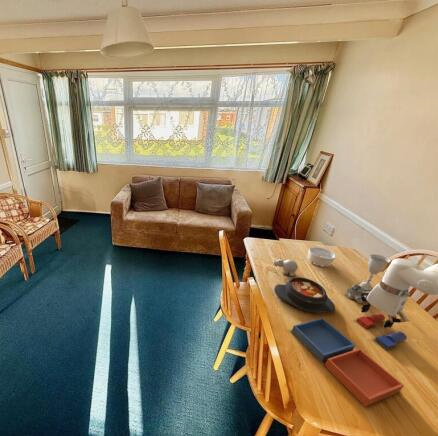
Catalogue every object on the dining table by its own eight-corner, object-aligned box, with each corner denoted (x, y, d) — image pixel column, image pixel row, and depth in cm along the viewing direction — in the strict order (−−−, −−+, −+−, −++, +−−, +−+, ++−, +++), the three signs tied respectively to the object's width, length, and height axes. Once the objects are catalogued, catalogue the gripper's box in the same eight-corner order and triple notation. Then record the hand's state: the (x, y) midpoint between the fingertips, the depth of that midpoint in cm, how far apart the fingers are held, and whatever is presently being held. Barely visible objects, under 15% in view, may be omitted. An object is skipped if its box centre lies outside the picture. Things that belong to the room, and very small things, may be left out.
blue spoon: (394, 334, 94) (397, 328, 92) (406, 342, 90) (409, 337, 89) (374, 340, 91) (377, 335, 90) (386, 349, 87) (389, 344, 86)
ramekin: (309, 253, 148) (312, 244, 146) (334, 262, 140) (338, 252, 137) (303, 261, 140) (306, 252, 137) (328, 271, 131) (333, 261, 129)
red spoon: (374, 315, 102) (377, 310, 101) (384, 322, 99) (387, 317, 98) (355, 321, 100) (358, 316, 98) (366, 328, 96) (369, 323, 95)
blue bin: (352, 351, 87) (355, 345, 85) (321, 361, 83) (324, 355, 81) (319, 323, 98) (322, 317, 97) (291, 331, 94) (293, 325, 93)
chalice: (359, 289, 118) (374, 260, 111) (354, 281, 124) (367, 253, 116) (377, 292, 116) (393, 263, 108) (371, 284, 121) (385, 256, 114)
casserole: (274, 305, 107) (279, 292, 104) (272, 281, 123) (276, 269, 119) (339, 323, 98) (346, 309, 95) (327, 295, 114) (333, 282, 110)
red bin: (399, 392, 74) (404, 385, 72) (365, 406, 70) (369, 399, 69) (355, 354, 85) (359, 348, 84) (324, 365, 82) (327, 358, 80)
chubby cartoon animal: (273, 264, 137) (276, 252, 134) (296, 272, 130) (300, 260, 127) (270, 270, 132) (273, 258, 129) (294, 278, 125) (298, 266, 122)
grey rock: (362, 305, 108) (365, 299, 106) (343, 295, 114) (346, 289, 112) (371, 297, 113) (374, 290, 111) (352, 288, 119) (355, 282, 117)
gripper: (427, 301, 85) (405, 333, 93) (374, 272, 101) (359, 302, 108) (414, 305, 83) (392, 338, 91) (362, 275, 99) (347, 306, 106)
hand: (374, 318), depth 99 cm, fingers open, 7 cm apart
